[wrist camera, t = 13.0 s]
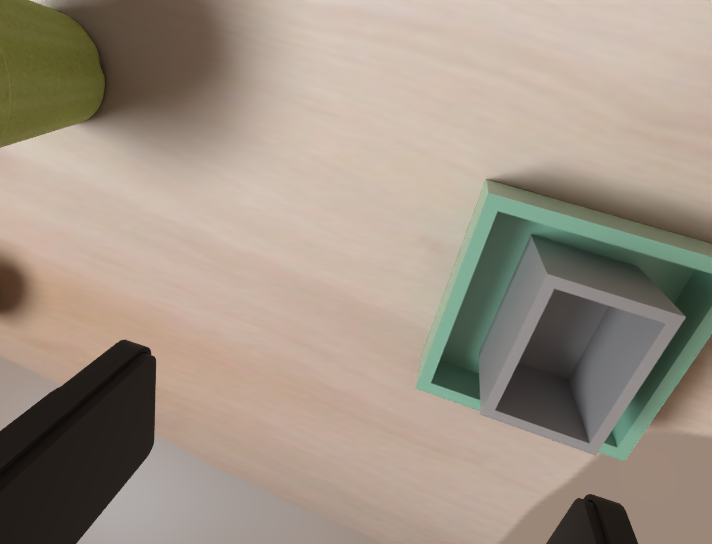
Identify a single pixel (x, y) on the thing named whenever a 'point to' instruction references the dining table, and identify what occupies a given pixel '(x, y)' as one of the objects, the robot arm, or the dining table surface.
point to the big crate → (580, 230)
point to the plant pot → (44, 71)
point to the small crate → (572, 343)
